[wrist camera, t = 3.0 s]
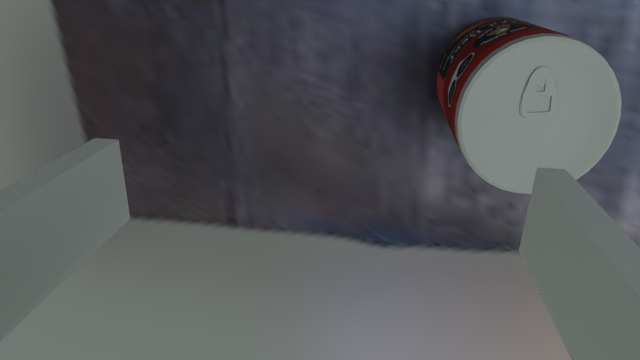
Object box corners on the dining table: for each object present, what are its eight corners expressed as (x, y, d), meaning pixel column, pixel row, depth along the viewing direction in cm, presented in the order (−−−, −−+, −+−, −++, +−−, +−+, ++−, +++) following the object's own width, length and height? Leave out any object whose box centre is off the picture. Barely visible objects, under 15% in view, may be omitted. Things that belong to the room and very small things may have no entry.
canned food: (538, -2, 31) (611, 9, 21) (559, 113, 34) (634, 172, 24) (421, 39, 33) (437, 67, 23) (450, 144, 36) (476, 211, 25)
